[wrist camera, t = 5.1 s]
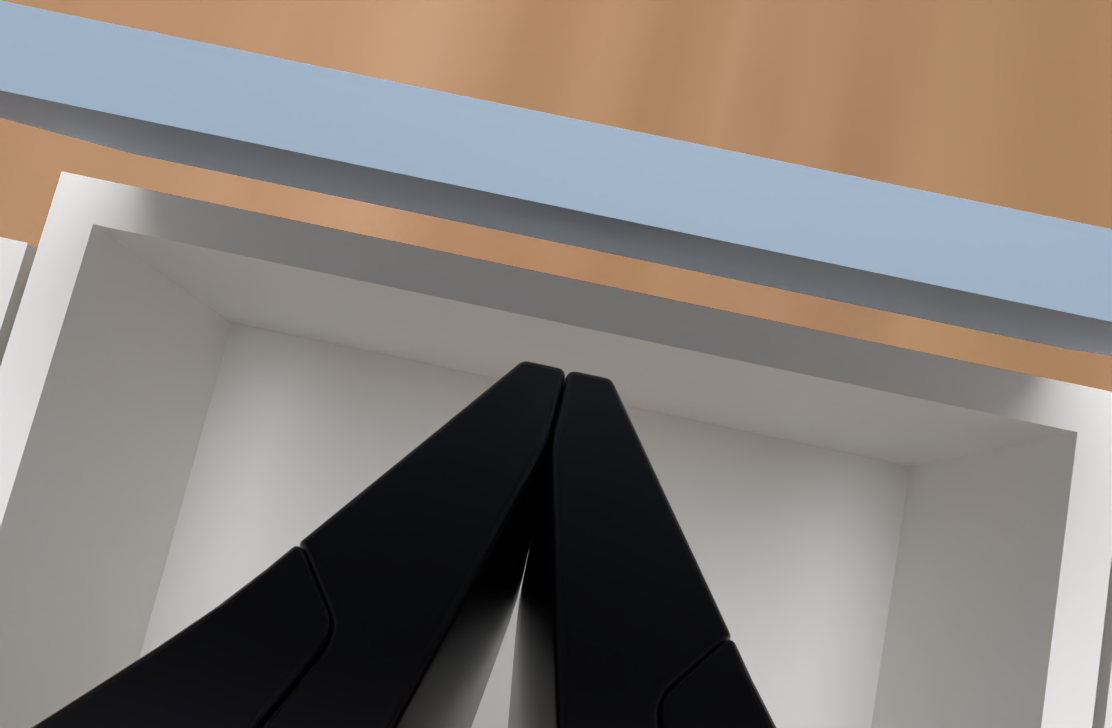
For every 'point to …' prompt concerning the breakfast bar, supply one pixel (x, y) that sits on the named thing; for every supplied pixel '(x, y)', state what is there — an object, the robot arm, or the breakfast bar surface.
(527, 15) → the breakfast bar surface
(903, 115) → the breakfast bar surface
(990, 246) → the flap
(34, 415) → the carton
